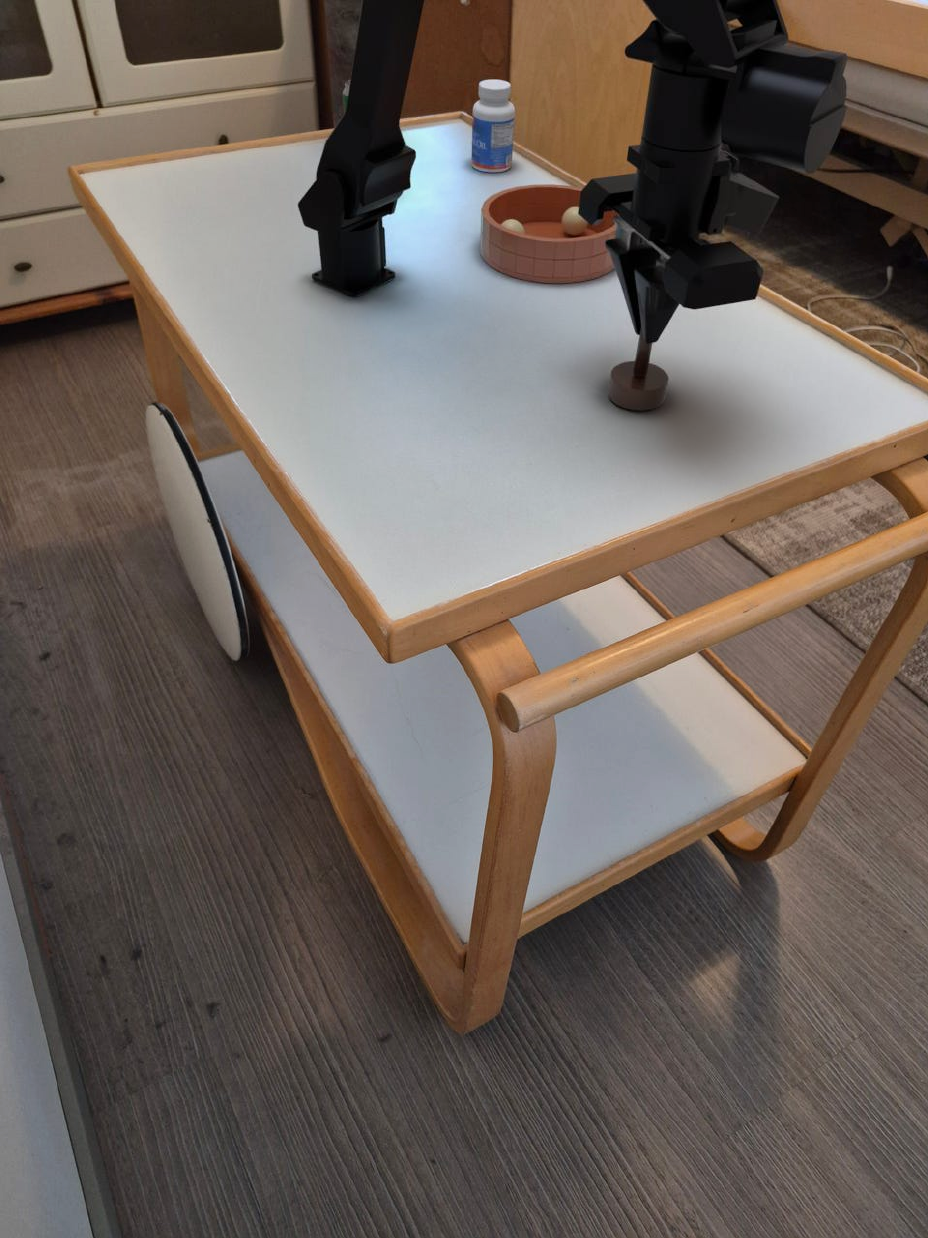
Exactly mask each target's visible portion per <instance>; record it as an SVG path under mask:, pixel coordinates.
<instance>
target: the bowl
mask: <svg viewBox="0 0 928 1238" xmlns="http://www.w3.org/2000/svg"><path fill="white" fill-rule="evenodd" d="M583 188H584V187H578V186H571V185H564V184H551V183H549V184H528V185H527V184H526V185H520V186H515V187H511V188H507V189H504V190H503V189H502V190H501V191H498V192H496V193H494V194H492V195H490V196H489V197H488V198H487V199H485V201H484V202H483V204H482V206H481V209H480V210H481V211H480V237H479V238H480V239H479V244H480V254H481V257H482V259H483V260H484V261H485V263H486V264H487V265H488V266H490V267H491V268H493V269H494V270H495V271H498V272H499V273H502V274H504V275H507V276H509V277H512V278H515V279H519V280H524V281H528V282H533V283H534V282H535V283H540V284H541V283H542V284H573V283H581V282H586V281H590V280H594V279H598V278H600V277H602V276H604V275H606V274H609V273H610V272H612V271H613V270H615V267H614V264H613V262H612V259H611V256H610V253H609V251H608V250H607V249H606V246H605V242H606V240H609V239H614V238H615V230H616V223H615V222H613V217H614V216H619V214H617V213H616V212H615V211H607V212H604V216H603V220H602V221H601V222H600V223H599V224H598V225H593V226H591V225H590V224H589V223H588V225H587V228H586V229H585V231H584V232H583V233H581V234H579V235H576V236H573V235H569V234H568V233H566V232H565V231H564V229H563V227H562V217H563V214H564V213H565V211H566V210H568V209H569V208H571V207H579V201H580V192H581V190H582V189H583ZM509 219H514V220H517V221H518V222H520V223H521V224H522V226H523V228H524V231H525V234H522V233H519V232H516V231H513V230H510V229H507V228H505V227H503V226H502V225H501V224H502V223H503V222H504V221H506V220H509Z"/></svg>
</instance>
